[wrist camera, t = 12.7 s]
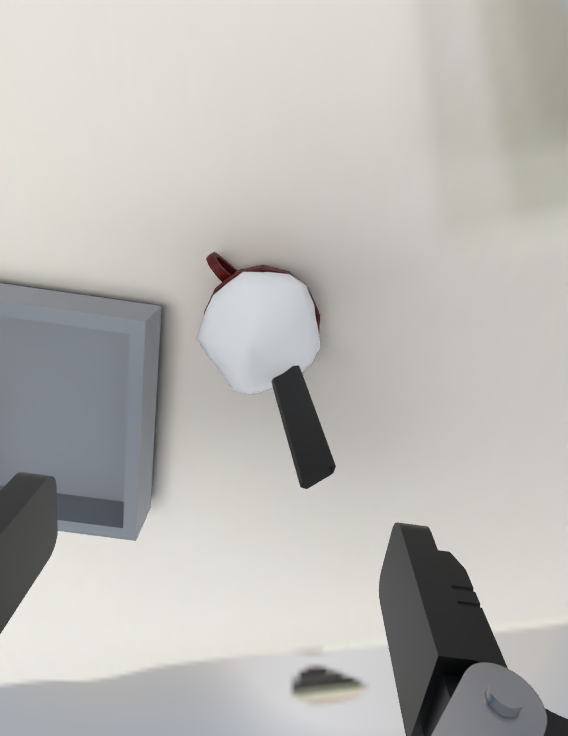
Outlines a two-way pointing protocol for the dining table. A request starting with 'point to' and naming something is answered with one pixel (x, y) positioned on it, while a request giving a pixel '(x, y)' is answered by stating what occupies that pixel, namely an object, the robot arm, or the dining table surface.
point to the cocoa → (269, 351)
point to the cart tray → (81, 403)
